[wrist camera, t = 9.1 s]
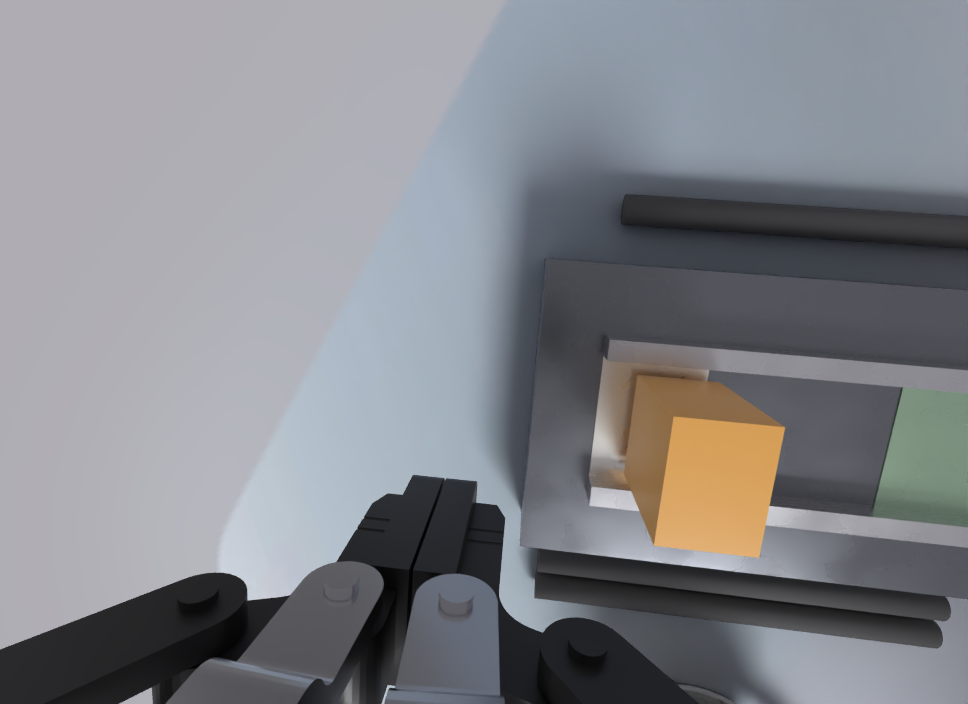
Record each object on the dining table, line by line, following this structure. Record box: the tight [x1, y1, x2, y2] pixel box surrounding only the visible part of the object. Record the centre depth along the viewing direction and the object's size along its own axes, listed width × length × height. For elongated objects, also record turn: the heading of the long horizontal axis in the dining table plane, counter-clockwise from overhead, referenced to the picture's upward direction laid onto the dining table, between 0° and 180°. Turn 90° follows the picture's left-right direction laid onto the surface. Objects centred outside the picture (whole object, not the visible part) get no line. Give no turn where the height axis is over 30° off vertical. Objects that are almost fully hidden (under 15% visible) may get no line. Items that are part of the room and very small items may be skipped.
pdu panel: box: [520, 258, 968, 599], centre depth 21 cm, size 20×12×4 cm, turn 86°
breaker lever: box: [624, 375, 785, 558], centre depth 17 cm, size 3×4×5 cm
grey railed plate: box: [535, 194, 968, 648], centre depth 22 cm, size 18×19×1 cm
